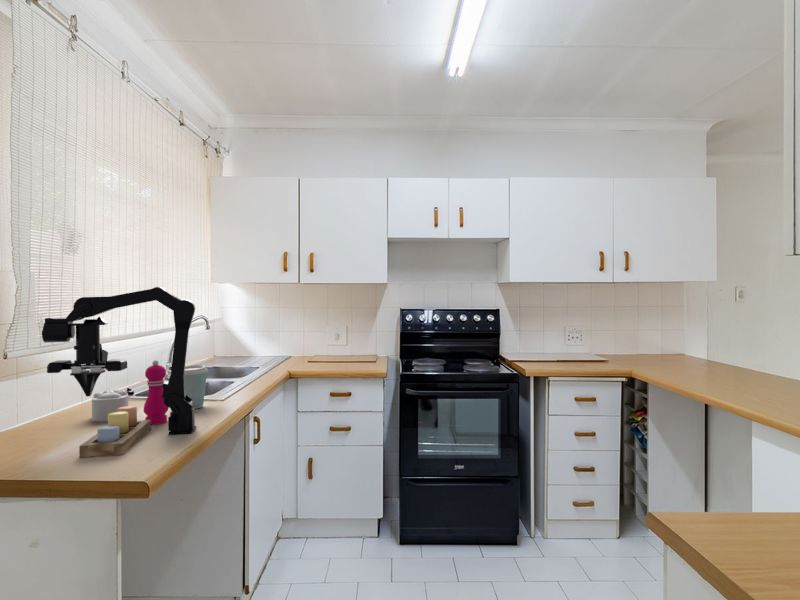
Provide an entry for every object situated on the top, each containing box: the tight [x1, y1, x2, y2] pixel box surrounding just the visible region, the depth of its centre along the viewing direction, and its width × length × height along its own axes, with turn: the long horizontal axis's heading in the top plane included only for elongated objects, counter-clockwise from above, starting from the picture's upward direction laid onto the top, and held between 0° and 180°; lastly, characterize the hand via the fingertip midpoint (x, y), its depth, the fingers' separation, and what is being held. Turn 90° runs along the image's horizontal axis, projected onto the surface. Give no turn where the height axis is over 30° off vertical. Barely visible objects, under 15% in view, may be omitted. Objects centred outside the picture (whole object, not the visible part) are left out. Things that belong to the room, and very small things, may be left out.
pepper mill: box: [143, 360, 169, 425], centre depth 159 cm, size 7×7×20 cm
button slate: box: [96, 425, 119, 443], centre depth 131 cm, size 5×5×5 cm
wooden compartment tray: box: [78, 419, 152, 458], centre depth 138 cm, size 10×24×3 cm, turn 11°
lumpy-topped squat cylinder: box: [91, 388, 129, 422], centre depth 166 cm, size 10×13×9 cm
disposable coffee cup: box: [184, 364, 209, 410], centre depth 179 cm, size 11×11×15 cm
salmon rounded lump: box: [117, 405, 138, 427], centre depth 144 cm, size 5×5×5 cm
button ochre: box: [107, 412, 129, 434], centre depth 138 cm, size 5×5×5 cm
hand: (88, 396), depth 140 cm, fingers closed
